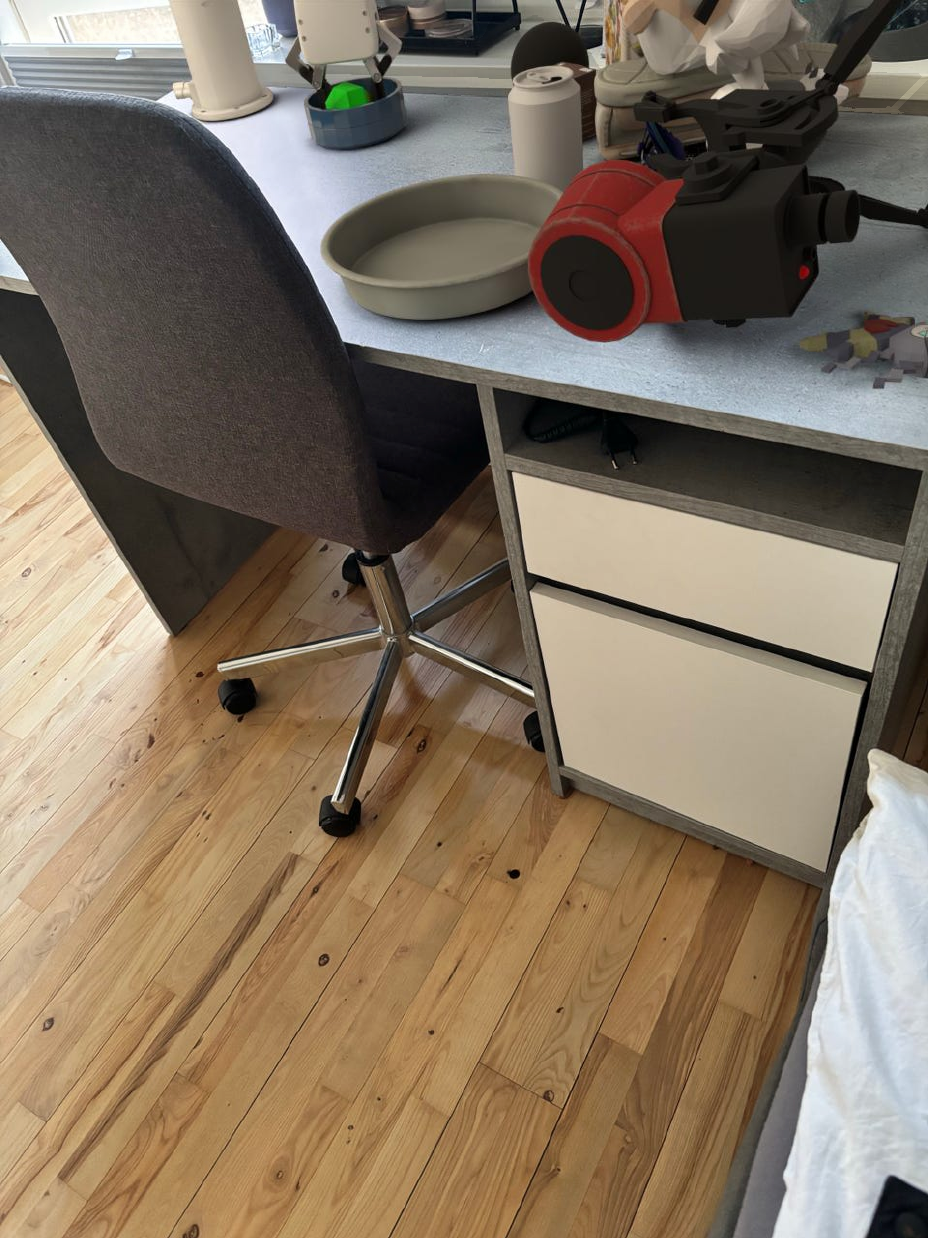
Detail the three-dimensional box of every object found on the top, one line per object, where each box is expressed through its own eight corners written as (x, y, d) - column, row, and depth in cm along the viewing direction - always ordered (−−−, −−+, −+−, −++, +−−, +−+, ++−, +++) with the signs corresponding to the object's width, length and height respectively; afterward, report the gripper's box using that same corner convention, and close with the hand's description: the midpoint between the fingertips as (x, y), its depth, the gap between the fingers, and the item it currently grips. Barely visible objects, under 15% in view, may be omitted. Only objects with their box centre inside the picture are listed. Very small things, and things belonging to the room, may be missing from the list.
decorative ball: (605, 108, 119) (603, 19, 112) (538, 129, 117) (532, 40, 110) (564, 91, 126) (560, 6, 119) (501, 112, 124) (492, 26, 117)
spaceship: (650, 167, 96) (631, 199, 101) (704, 165, 97) (683, 197, 102) (633, 106, 97) (616, 141, 102) (687, 106, 99) (667, 140, 104)
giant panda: (707, 188, 98) (712, 89, 91) (695, 168, 101) (699, 72, 95) (846, 166, 97) (863, 65, 90) (829, 147, 101) (844, 49, 94)
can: (565, 210, 99) (558, 86, 90) (504, 204, 102) (492, 84, 93) (595, 182, 103) (592, 62, 94) (536, 177, 106) (528, 60, 98)
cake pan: (567, 201, 99) (564, 157, 96) (585, 312, 82) (583, 263, 79) (343, 231, 101) (334, 189, 98) (316, 344, 84) (303, 298, 81)
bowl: (301, 154, 123) (290, 114, 119) (328, 119, 131) (319, 81, 128) (395, 147, 120) (388, 105, 116) (417, 112, 129) (411, 72, 125)
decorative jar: (697, 95, 117) (704, -78, 105) (721, 125, 109) (733, -60, 96) (604, 111, 118) (599, -60, 105) (621, 142, 110) (619, -39, 97)
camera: (972, 227, 82) (869, 426, 69) (667, 252, 101) (539, 412, 87) (971, -108, 66) (837, 66, 53) (609, -6, 85) (440, 142, 71)
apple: (350, 135, 119) (396, 138, 126) (350, 78, 116) (397, 84, 123) (312, 133, 123) (359, 136, 130) (311, 78, 120) (359, 84, 127)
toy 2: (894, 278, 76) (1079, 304, 64) (890, 324, 78) (1069, 357, 66) (764, 332, 71) (940, 371, 59) (764, 380, 73) (933, 427, 61)
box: (529, 140, 115) (524, 75, 110) (565, 125, 117) (562, 60, 112) (562, 150, 111) (558, 82, 106) (599, 134, 113) (597, 67, 108)
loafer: (858, 29, 102) (839, 118, 109) (590, 51, 104) (589, 137, 111) (885, 64, 95) (863, 157, 102) (597, 87, 97) (595, 176, 104)
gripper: (397, -63, 113) (421, 98, 125) (262, -43, 115) (299, 113, 128) (389, -49, 107) (415, 117, 120) (248, -29, 110) (288, 132, 123)
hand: (355, 114), depth 124 cm, fingers closed on apple, 6 cm apart
